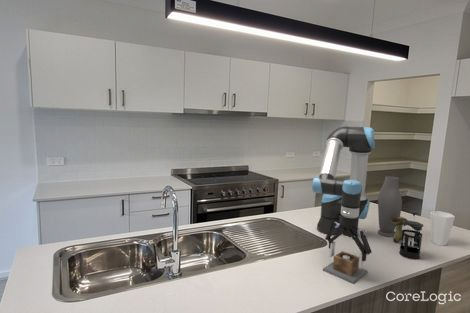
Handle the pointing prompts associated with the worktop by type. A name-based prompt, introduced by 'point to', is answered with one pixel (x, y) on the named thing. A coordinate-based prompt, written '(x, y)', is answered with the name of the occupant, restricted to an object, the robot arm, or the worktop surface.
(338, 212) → the robot arm
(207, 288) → the worktop surface
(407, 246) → the french press
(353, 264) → the collar
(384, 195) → the vase
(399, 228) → the mushroom
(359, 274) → the grey plate with knob
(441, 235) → the cup
